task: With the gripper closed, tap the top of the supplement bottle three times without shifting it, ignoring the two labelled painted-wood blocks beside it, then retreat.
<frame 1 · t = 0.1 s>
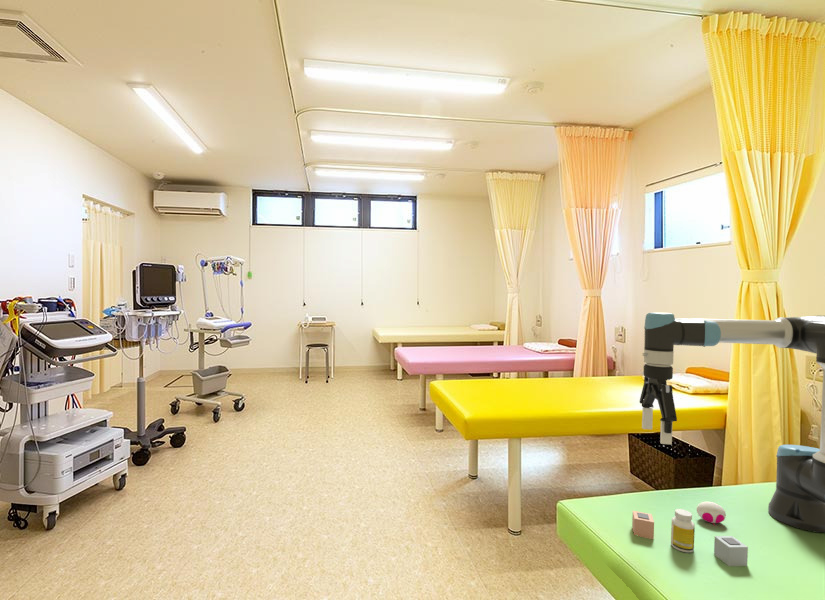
hand: (656, 436, 127), 28 cm above the table, fingers open, 13 cm apart
supplement bottle: (682, 548, 118), on the table
terracotta block: (642, 533, 125), on the table
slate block: (730, 560, 113), on the table
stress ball: (711, 523, 132), on the table
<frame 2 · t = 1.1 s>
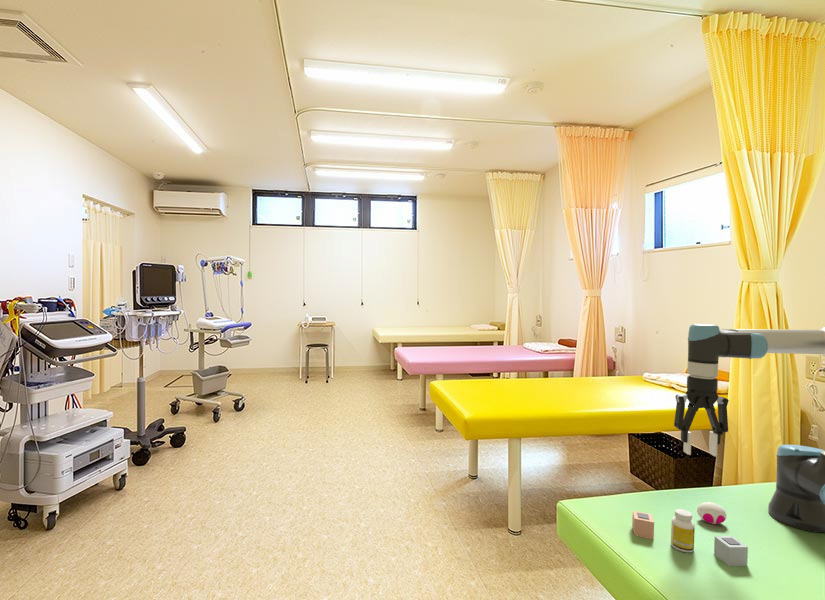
hand: (699, 453, 126), 23 cm above the table, fingers open, 6 cm apart
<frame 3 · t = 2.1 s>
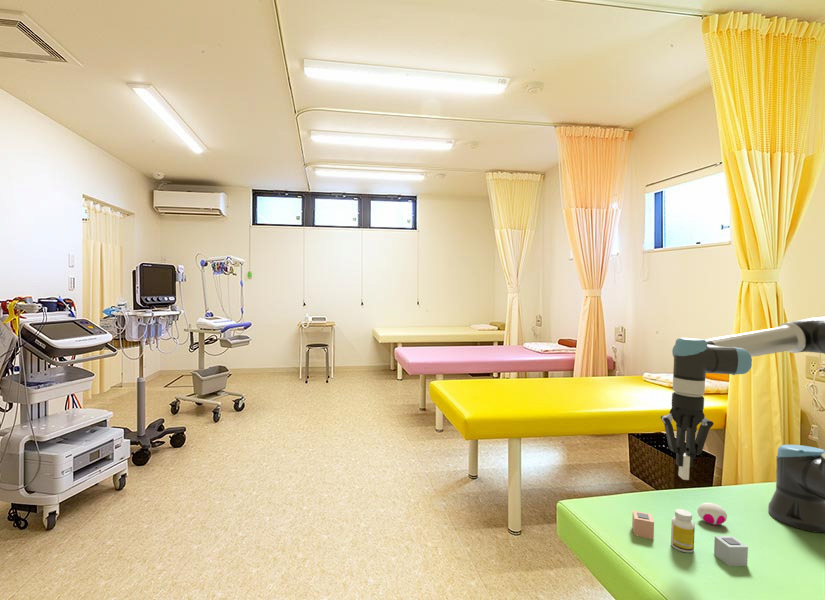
hand: (683, 477, 119), 19 cm above the table, fingers closed
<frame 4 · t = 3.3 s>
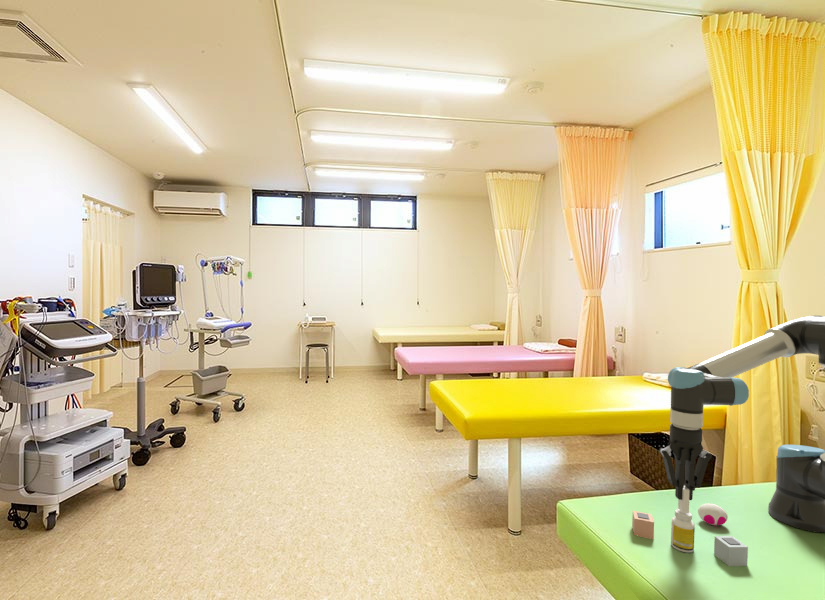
hand: (683, 510, 118), 10 cm above the table, fingers closed
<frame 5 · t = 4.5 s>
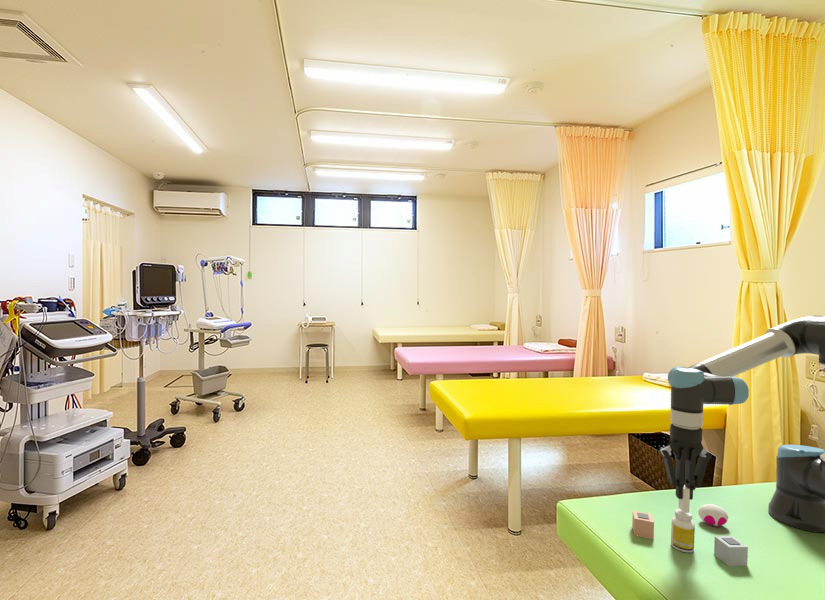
hand: (683, 510, 118), 10 cm above the table, fingers closed
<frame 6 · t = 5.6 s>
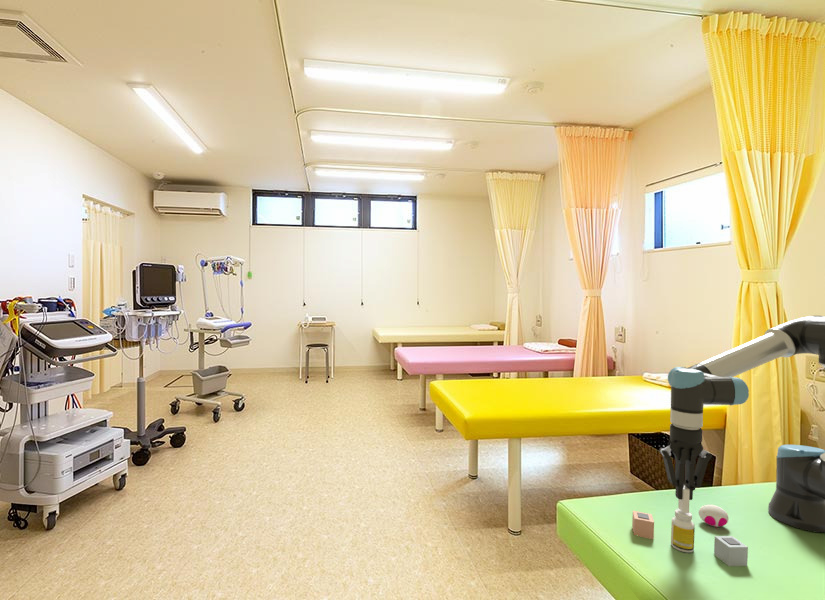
hand: (683, 510, 118), 10 cm above the table, fingers closed
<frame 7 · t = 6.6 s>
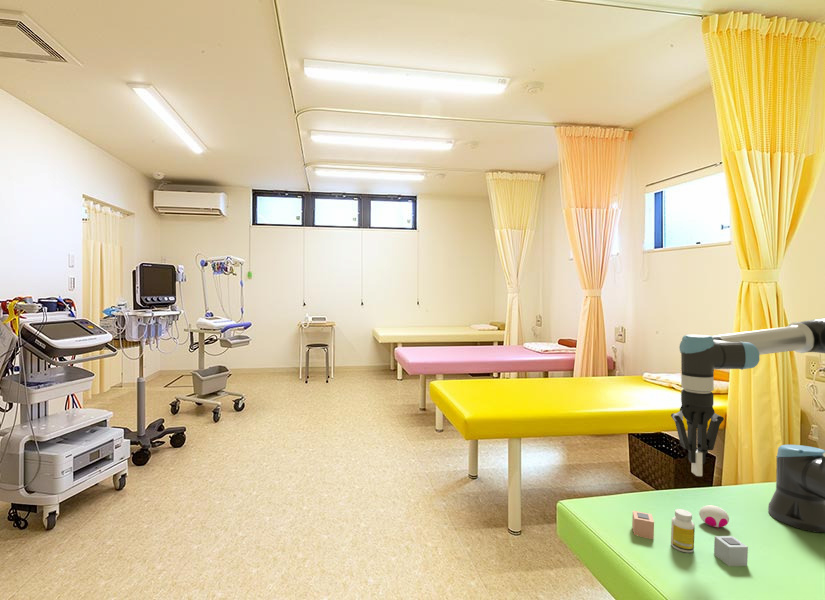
hand: (696, 474, 120), 20 cm above the table, fingers closed
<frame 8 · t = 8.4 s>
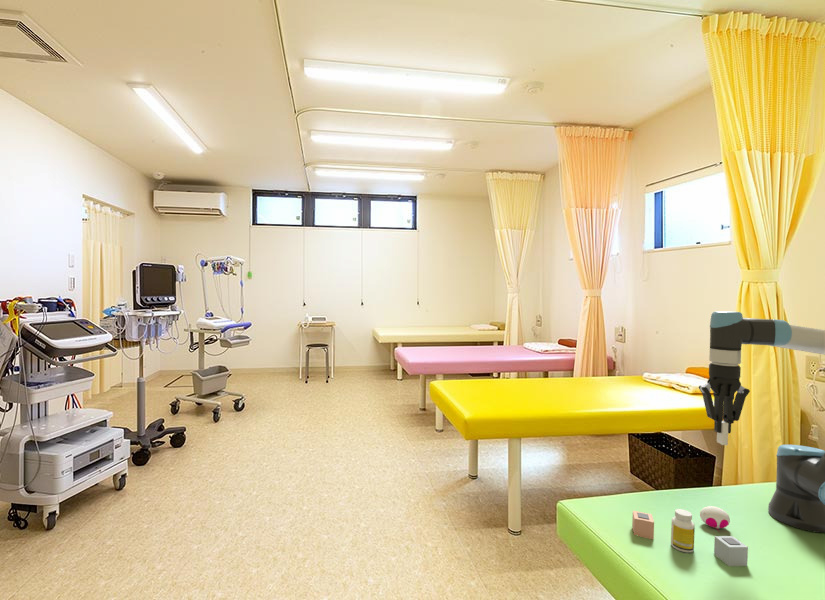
hand: (722, 443, 126), 26 cm above the table, fingers closed
at the end: supplement bottle moved 0.2 cm from its start; supplement bottle tilted 0°; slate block moved 0.1 cm from its start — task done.
